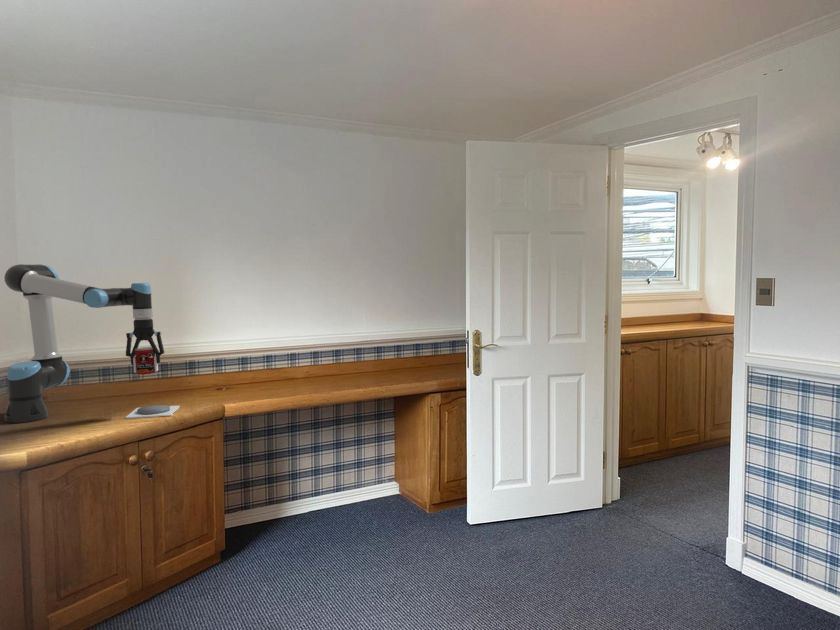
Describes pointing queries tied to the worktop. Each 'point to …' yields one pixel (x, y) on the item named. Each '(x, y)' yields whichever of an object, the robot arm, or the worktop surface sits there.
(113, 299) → the robot arm
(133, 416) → the white square plate
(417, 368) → the worktop surface
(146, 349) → the canned food
